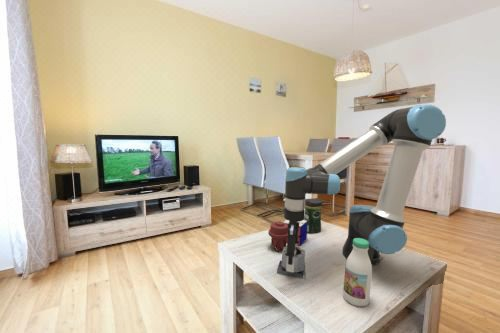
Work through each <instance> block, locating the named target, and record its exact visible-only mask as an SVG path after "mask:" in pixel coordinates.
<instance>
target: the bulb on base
mask: <svg viewBox="0 0 500 333" xmlns="http://www.w3.org/2000/svg"><path fill="white" fill-rule="evenodd" d="M294 254H295V255H296V249H295V251H294ZM305 271H306V265H305V264H304V270H303V271H300V272H297V273H296V272H294V273H293V272H288V271H286V269H284V268H283V267H282V260H279V263H278V265H277V268H276V274H279V275H283V276H289V277H294V278H298V279H299V278H300V279H304V278H305Z"/></svg>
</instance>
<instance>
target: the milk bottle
mask: <svg viewBox="0 0 500 333" xmlns="http://www.w3.org/2000/svg"><path fill="white" fill-rule="evenodd" d="M368 247H369V242H368V241H367V240H365V239H362V238H355V239H353V250H352V252H351V254H350V255H349V256H348V258H346V261H345V268H344V278H343V289H342V290H343V293H342V294H343V298H344V299H345V301H346V302H348V303H349V304H350V305H353V306H355V307H366V306H368V305H369V302H370V298H371V296H370V295H371V289H372V288H371V287H372V286H371V285H372V274H373V265H371V261H370V259H369V256H368V249H369V248H368Z"/></svg>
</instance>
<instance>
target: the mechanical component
mask: <svg viewBox="0 0 500 333" xmlns="http://www.w3.org/2000/svg"><path fill="white" fill-rule="evenodd" d="M283 222H284V221H280V220H279V221H273V222H271V224H270V228H269V229H268V236H269V237H270V238H271V242H270V245H271V246H272V247H273V248H275V249H276V251H277V252H280V251H282V250H283V248H284V247H287V243H286V240H287V238H288V224H286V223H283Z"/></svg>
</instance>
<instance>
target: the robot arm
mask: <svg viewBox="0 0 500 333" xmlns="http://www.w3.org/2000/svg"><path fill="white" fill-rule="evenodd" d="M446 125H447V119H446V116H445V114H444V113H443V111H442V110H441V109H440V107H437V106H435V105H432V104H416V105H414V106H410V107H409V106H408V107H404V108H399V109H396V110H393V111H391V112H390V113H388V114H387V115H385V116H383V117H382V118H381V119H379V120H378V121H376V122H375V123H373V124H372V125H371V126H370V127H369V129H368V131H366V132H365V133H363V134H361V135H360V136H359V137H357V138H356V139H354V140H352V141H351V142H350V143H348V144H347V145H345V146H343V147H342V148H340V149H339V150H337V151H336V152H334V153H333V154H332V155H330V156H329V157H327V158H326V159H324V160H323V161H321V162H320V163H318V164H317V165H315V166H314V167H310V168H305V167H297V166H293V167H292V166H290V167H288V168H287V169H286V173H285V174H286V176H285V178H284V179H285V183H284V185H285V186H284V187H285V190H284V198H283V200H282V201H283V202H284V211H283V218H284V219H285V220H289V221H290V222H289V224H288V242H287V243H286V247H287V253H285V255H286V256H287V267H286V271H288V272H293V273H294V260H295V254H294V251H295V246H296V247H298V246H297V244H299V241H297V240H298V230H299V223H298V221H302V220H304V216H305V199H307V198H306V195H307V194H308V195H309V194H310V195H314V194H315V195H327V196H329V195H338V193H340V189H341V179H340V176H339V175H337V174H339V173H340V172H341V171H344V170H345V169H346V168H348V167H349V166H351V165H352V164H354V163H356V161H359V160H360V159H362V158H363V157H364V156H367V155H368V154H369V153H370V152H373V151H374V150H375V149H377V148H378V147H380V146H381V145H382V146H386V145H387V144H389V143H391V142H392V143H393V145H394V147H393V151H392V155H391V158H390V161H389V163H388V167H387V170H386V174H385V176H384V180H383V183H382V186H381V189H380V192H379V196H378V199H377V202H376V206H373V205H368V204H367V205H366V204H354V205H351V206H350V210H349V213H348V214H349V217H348V229H347V230H348V232H347V238H346V240H345V242H344V244H343V246H342V253H341V254H342V255H343V256H344V257H345V258H346V259H347V258H348V256H349V255H350V254H351V252H352V250H353V239H355V238H362V239H365V240H367V241H368V242H369V247H368V248H369V249H368V256H369V259H370V261H371V265H372V266H374V265H375V266H376V265H378V264H379V263H380V262H381V254H383V255H394V254H395V253H398V252H400V251H402V250H403V248H404V247H405V246H406V245H407V242H408V241H407V240H408V236H407V234H406V231H405V229H404V226H405V223H406V220H405V218H404V216H403V213H404V210H405V207H406V203H407V200H408V197H409V194H410V192H411V189H412V185H413V182H414V179H415V177H416V173H417V170H418V167H419V164H420V161H421V158H422V154H423V152H424V151H425V150H427V149H429V148H431V145H432V142H433V140H434V139H437V138H438V137H439V136H441V135H442V134H443V132H444V131H445V128H446ZM296 243H297V244H296ZM380 253H381V254H380Z"/></svg>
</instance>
